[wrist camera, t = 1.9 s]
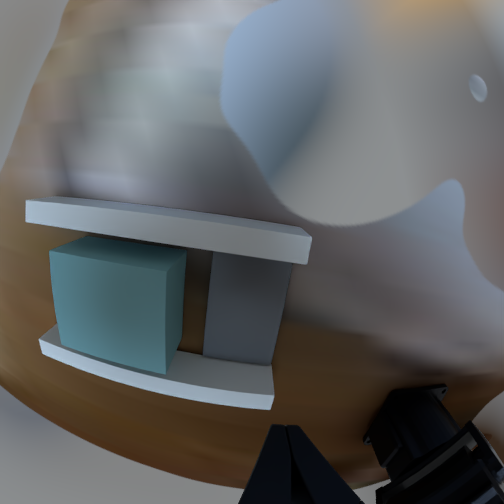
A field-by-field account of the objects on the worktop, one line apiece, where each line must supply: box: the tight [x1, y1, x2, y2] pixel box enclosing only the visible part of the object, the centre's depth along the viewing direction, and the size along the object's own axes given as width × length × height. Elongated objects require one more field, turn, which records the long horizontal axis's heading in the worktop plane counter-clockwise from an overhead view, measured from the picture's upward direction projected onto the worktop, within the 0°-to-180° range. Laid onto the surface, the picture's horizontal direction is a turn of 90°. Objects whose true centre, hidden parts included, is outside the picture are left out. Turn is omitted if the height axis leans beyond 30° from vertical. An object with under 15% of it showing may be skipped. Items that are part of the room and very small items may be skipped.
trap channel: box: [26, 196, 312, 410], centre depth 14 cm, size 15×10×3 cm, turn 81°
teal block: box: [49, 236, 187, 375], centre depth 14 cm, size 6×6×4 cm
